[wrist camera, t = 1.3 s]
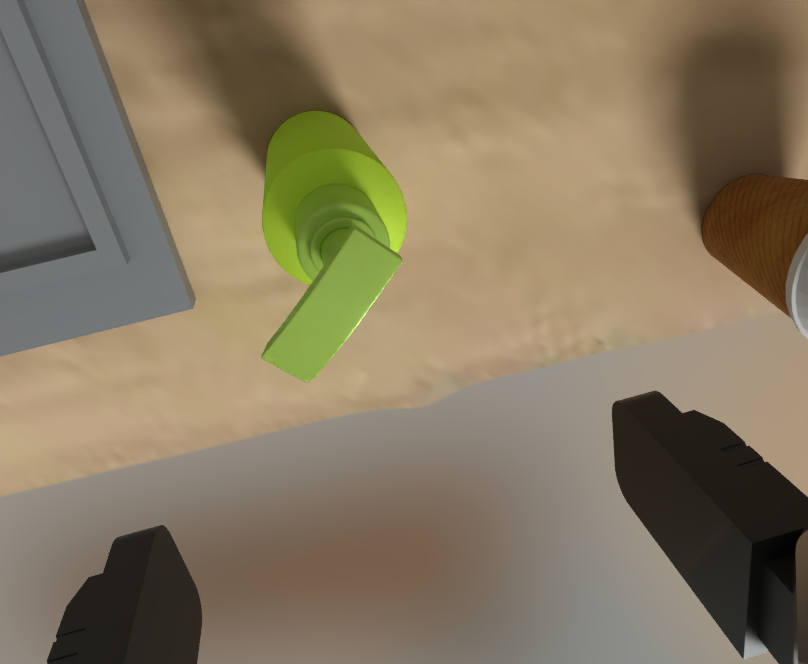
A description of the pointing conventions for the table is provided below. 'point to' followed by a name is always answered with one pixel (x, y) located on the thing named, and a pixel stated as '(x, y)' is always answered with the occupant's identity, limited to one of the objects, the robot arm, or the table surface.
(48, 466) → the table surface
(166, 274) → the stand
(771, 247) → the disposable coffee cup
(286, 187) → the soap dispenser
